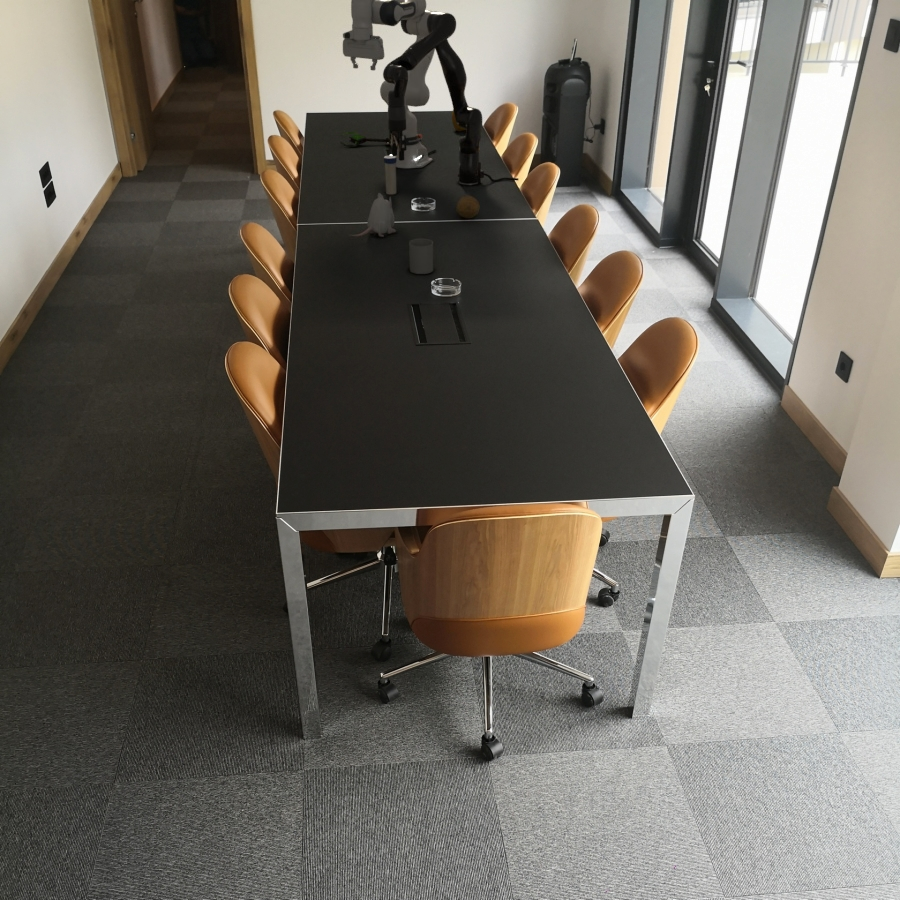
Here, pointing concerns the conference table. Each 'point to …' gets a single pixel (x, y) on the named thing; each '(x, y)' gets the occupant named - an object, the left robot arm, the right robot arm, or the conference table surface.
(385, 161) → the lid
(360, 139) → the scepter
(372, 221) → the toy
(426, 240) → the cup
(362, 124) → the conference table surface
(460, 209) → the potato
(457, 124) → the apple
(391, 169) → the jar
